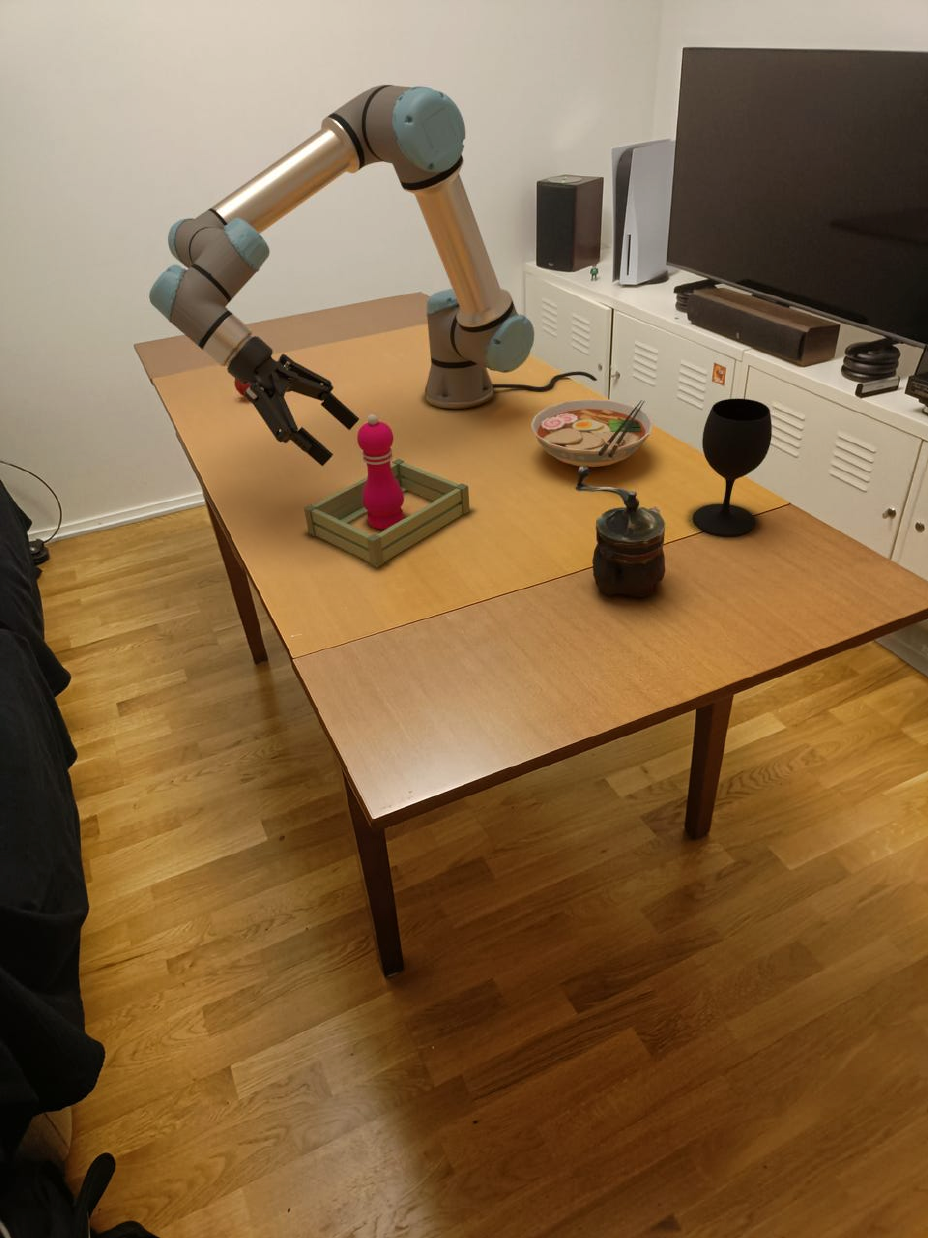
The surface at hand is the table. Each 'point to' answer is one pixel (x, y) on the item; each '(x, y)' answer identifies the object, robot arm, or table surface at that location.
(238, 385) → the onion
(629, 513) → the coffee grinder
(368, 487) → the pepper mill
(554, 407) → the ramen bowl
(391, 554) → the crate
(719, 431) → the wine glass
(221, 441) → the table surface
